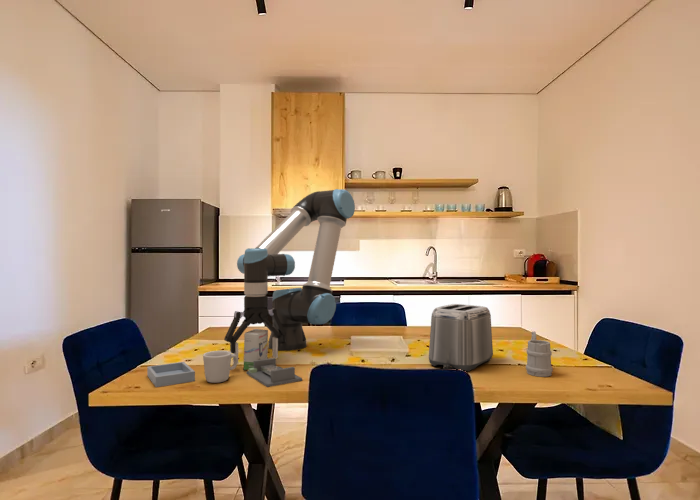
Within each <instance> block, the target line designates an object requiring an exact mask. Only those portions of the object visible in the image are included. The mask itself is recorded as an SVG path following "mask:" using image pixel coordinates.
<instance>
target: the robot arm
mask: <svg viewBox="0 0 700 500" xmlns="http://www.w3.org/2000/svg"><path fill="white" fill-rule="evenodd" d="M355 208H356V205H355V200H354V198H353V195H352V194H351V193H350V192H349V191H348V190H347V189H343V188H342V189H338V188H336V189H335V188H334V189H330V190H321V191H319V190H318V191H314V192H311V193H310V194H307V195H306V196H305V197H303V198H302V199H300V200H299V201H298V202H297V203H296V204H295V205H294V206H293V207H292V208H290V213H289V215H287V216H286V217H285V218H284V219H283V220H282V221H281V222H280V223H279V224H278V225H277V226H276V227H275V228H274V229H273V230H272V231H271V232H270V233H269V234H268V235H267V236H266V237H265V238H264V239H263V240H262V241H261V242H260V243H259V244H258V245H257V246H255V247H254V248H246V249H245V250H244V253H243V254H241V255H240V256H239V257H238V258H237V262H236V267H237V270H238V271H239V273H242V274H243V275H244V276H243V277H244V278H243V281H244V282H243V283H244V285H243V288H244V289H243V293H244V295H245V296H244V298H243V302H244V303H243V307H244V309H243V311H238V310H235V311H234V313H233V314H234V315H233V318H232V321H231V324H230V325H229V327H228V329H227V332H226V334H225V336H224V337H223V338H224V341H225V342H227V343H229V345H230V347H229V349H230V350H229V352H231V354H234V355H236V356H237V360H238V361H237V365H238V364H239V343H238V342H237V341H238V340H239V339H240V337H241V336H242V334H243V333H245V330H246V329H247V328H248V327H249V326H250V325H257V324H259V325H261V324H262V323H263V324H264V325H265V327H266V328H267V330H268V331H269V332H270V334H269V337H268V349H270V350H272V352H271V353H272V355H271V356H272V357H271V358H276V359H278V358H279V355H278V353H279V351H297V350H302V349H305V348H306V347H307V345H308V342H307V337H306V335H305V331H304V327H303V323H306V324H311V325H324V324H328V322H330V321H331V319H333V317H334V315H335V312H336V309H337V303H336V298H335V296H334V295H333V290H332V288H331V287H330V285H331V280H332V275H333V270H334V266H335V261H336V255H337V250H338V245H339V240H340V237H341V236H340V235H341V230H342V228H344V227H345V226H346V225H347V220H348V219H350V218H352V217H353V216H354V214H355ZM315 221H317V222H318V223H319V226H318V227H319V228H318V231H317V236H316V241H315V244H314V245H315V247H314V250H313V255H312V261H311V265H310V269H309V274H308V279H307V282H306V283H304V284H303V285H302V287H295V288H293V287H291V288H283V289H276V290H274V291H273V293H272V305H271V306H272V308H269V309H268V302H269V301H268V297H269V296H268V295H267V294H268V293H269V289H268V286H269V285H268V278H269V277H279V276H280V277H285V276H290V275H291V274H293V273H294V270H295V269H296V267H295V266H296V262H295V258H294V257H293V256H292V255H291V254H287V253H280V252H281V251H282V250H283V249H284V248H285V247H286V246H287V244H288V243H290V242H291V241H292V240H293V239H294V237H295V236H296V235H297V234H298V233H299V232H300V231H302V229H303V228H304V227H308V226H309V225H310V224H311V223H313V222H315ZM268 315H269V316H271V319H272V323H271V321H270V320H269V319H268V318H267V317H268ZM242 318H243V321H242V322H241V325H240V326H239V327H238V325H239V322H240V321H241V320H240V319H242ZM237 327H238V328H237ZM236 329H237V330H236ZM233 363H234V359H233V358H232V364H233Z"/></svg>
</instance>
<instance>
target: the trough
mask: <svg viewBox="0 0 700 500" xmlns="http://www.w3.org/2000/svg"><path fill="white" fill-rule="evenodd" d="M146 368H147V374H146V375H147V377H148V379H149V380H150V382H151V383H152V384H153V386H154V387H155V388H160V387H166V386H172V385H173V386H174V385H179V384H185V383H193V382H195V381H196V371H195V370H194V369H193V368H192V367H191V366H189V365H188V364H187V363H186V362H185V361H178V362H171V363H165V364H158V365H150V366H147V367H146Z"/></svg>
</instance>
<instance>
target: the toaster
mask: <svg viewBox="0 0 700 500" xmlns="http://www.w3.org/2000/svg"><path fill="white" fill-rule="evenodd" d="M430 319H431V321H430V332H429V346H428V347H429V348H428V361H429V364H430V365H432V366H434V367H436V366H439V365H441V366H443V367H442V370H443V369H456V370H457V369H461V370H465V371H464V372H470V371H471V370H475V369H476V368H477V367H478V366H480V365H482V364H484V363H486V362H490V361H491V360H492V358H493V355H494V350H493V349H494V347H493V336H492V335H493V333H492V316H491V312H490V310H489V308H488V307H486V306H481V305H471V304H462V303H461V304H460V303H452V304H446V305H445V304H444V305H442V306H438V307H434V309H433V310H432V313H431V318H430Z"/></svg>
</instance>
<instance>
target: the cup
mask: <svg viewBox="0 0 700 500" xmlns="http://www.w3.org/2000/svg"><path fill="white" fill-rule="evenodd" d="M233 359H234V363H233V362H231V361H232V360H233ZM202 360H203V368H204V377H205V380H206V381H207V382H208V383H213V384H217V383H224V382H226V381H227V380H228V379H229V378H230V374H231V373H230V371H233V370H234V369H236V368H237V366H238V364H237V361H238V362H239V359H238V360H237V356H236V355H234V354H233V353H231V352H230V350H229V351H228V350H212V351H207V352H204V353H203V355H202ZM231 363H232V365H231Z"/></svg>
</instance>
